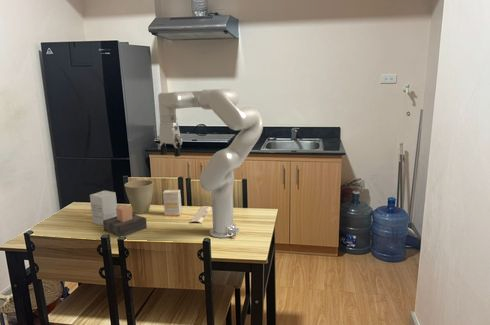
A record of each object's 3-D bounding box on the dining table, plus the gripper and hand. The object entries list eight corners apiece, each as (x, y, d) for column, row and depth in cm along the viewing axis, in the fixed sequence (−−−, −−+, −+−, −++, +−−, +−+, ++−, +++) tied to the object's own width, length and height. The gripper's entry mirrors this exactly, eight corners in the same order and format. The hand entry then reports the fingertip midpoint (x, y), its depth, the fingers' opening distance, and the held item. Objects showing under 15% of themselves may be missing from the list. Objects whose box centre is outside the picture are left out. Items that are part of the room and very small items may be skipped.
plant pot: (140, 206, 212) (137, 178, 209) (161, 209, 205) (159, 181, 202) (120, 214, 199) (118, 185, 196) (142, 218, 192) (140, 188, 189)
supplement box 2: (182, 213, 198) (180, 189, 196) (179, 216, 194) (178, 192, 191) (167, 213, 199) (165, 189, 196) (164, 216, 194) (162, 192, 192)
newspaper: (201, 209, 207) (201, 205, 206) (213, 209, 206) (213, 206, 205) (189, 224, 184) (189, 221, 184) (203, 225, 183) (203, 221, 183)
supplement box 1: (107, 217, 194) (104, 189, 191) (119, 220, 190) (116, 192, 187) (92, 223, 187) (89, 194, 183) (104, 226, 182) (101, 196, 179)
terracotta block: (132, 218, 177) (131, 206, 176) (123, 222, 173) (121, 209, 172) (126, 216, 180) (125, 204, 179) (117, 219, 176) (115, 207, 175)
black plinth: (146, 228, 179) (146, 218, 178) (121, 237, 168) (120, 227, 167) (129, 221, 187) (128, 212, 186) (104, 230, 177) (103, 220, 176)
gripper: (186, 119, 172) (189, 155, 175) (162, 118, 182) (164, 152, 186) (174, 120, 166) (177, 158, 170) (149, 119, 177) (152, 155, 180)
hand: (170, 155), depth 178 cm, fingers open, 9 cm apart
